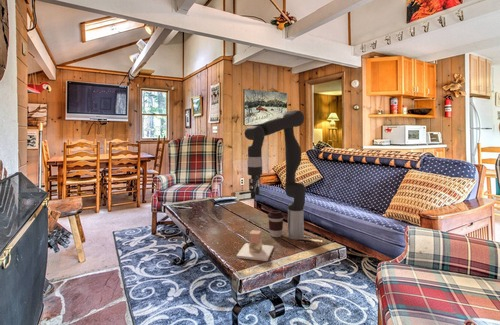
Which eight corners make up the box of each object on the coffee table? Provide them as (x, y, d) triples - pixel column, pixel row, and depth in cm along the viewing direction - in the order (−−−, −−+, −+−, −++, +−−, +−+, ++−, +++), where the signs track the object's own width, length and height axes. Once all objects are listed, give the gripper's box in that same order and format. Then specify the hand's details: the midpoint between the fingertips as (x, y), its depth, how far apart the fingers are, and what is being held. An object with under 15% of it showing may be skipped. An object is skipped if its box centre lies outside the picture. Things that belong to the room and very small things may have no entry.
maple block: (261, 248, 146) (261, 239, 145) (259, 253, 140) (259, 243, 140) (251, 247, 147) (251, 238, 147) (249, 252, 142) (249, 242, 141)
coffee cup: (275, 239, 161) (275, 214, 160) (264, 235, 169) (264, 211, 167) (287, 235, 167) (287, 211, 166) (275, 231, 175) (275, 208, 173)
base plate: (273, 248, 149) (273, 245, 149) (267, 261, 134) (267, 258, 134) (245, 245, 154) (245, 243, 153) (236, 257, 138) (236, 255, 138)
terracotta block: (261, 239, 145) (261, 230, 144) (259, 243, 140) (258, 234, 140) (252, 239, 146) (251, 230, 146) (249, 242, 141) (249, 233, 141)
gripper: (258, 167, 131) (258, 200, 133) (265, 164, 145) (265, 194, 147) (243, 167, 133) (244, 199, 135) (251, 163, 147) (251, 193, 149)
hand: (255, 196), depth 141 cm, fingers open, 8 cm apart
